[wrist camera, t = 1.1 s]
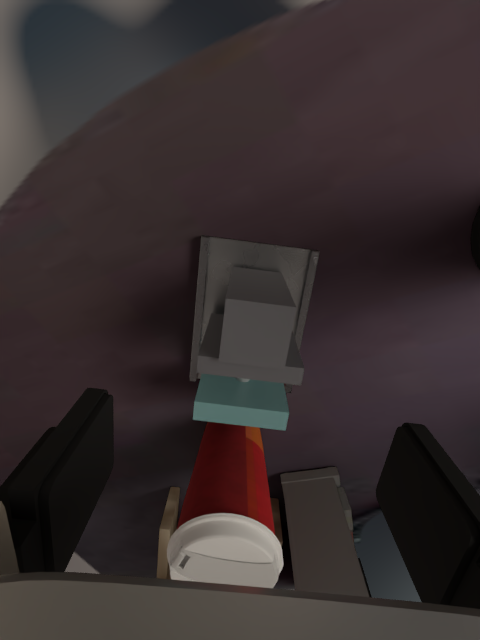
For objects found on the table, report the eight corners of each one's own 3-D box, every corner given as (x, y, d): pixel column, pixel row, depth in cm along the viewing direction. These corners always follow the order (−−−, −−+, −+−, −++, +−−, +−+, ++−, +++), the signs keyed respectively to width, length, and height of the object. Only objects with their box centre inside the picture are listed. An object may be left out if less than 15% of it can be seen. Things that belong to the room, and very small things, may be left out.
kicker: (300, 275, 28) (322, 310, 19) (278, 388, 32) (290, 459, 23) (214, 264, 28) (199, 295, 19) (202, 379, 31) (186, 447, 23)
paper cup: (183, 445, 35) (144, 594, 22) (213, 387, 33) (190, 515, 20) (251, 473, 36) (252, 629, 23) (285, 418, 34) (309, 559, 21)
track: (318, 250, 28) (320, 252, 27) (290, 386, 33) (292, 393, 32) (202, 235, 28) (200, 236, 27) (190, 374, 33) (188, 380, 32)
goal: (278, 498, 38) (283, 550, 32) (267, 550, 40) (270, 605, 35) (170, 486, 37) (157, 536, 32) (167, 539, 40) (154, 593, 35)
